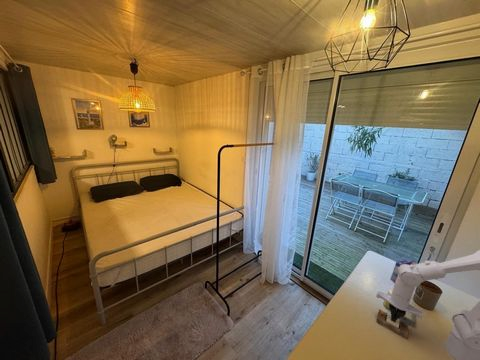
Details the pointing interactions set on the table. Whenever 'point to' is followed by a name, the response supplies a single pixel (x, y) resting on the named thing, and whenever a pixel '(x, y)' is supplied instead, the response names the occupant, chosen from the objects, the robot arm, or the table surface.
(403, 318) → the lockout bracket
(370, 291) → the table surface
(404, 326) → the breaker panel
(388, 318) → the button
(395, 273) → the ink cartridge box
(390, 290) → the supplement bottle
